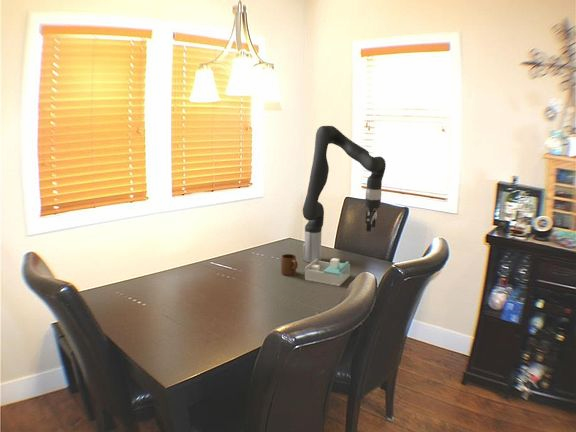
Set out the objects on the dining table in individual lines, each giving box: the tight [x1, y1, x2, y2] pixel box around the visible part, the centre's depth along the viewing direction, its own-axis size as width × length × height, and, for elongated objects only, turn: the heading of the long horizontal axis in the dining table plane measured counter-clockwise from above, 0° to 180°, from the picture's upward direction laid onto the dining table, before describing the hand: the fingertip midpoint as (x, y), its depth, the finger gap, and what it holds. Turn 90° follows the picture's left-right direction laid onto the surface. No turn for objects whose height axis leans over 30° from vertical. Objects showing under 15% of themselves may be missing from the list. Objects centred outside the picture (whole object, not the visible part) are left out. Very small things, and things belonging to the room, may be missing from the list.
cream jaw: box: [329, 257, 341, 269], centre depth 222 cm, size 4×4×4 cm
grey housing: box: [304, 259, 351, 287], centre depth 225 cm, size 18×15×6 cm
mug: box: [280, 253, 299, 277], centre depth 228 cm, size 12×8×9 cm, turn 30°
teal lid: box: [323, 261, 351, 275], centre depth 222 cm, size 8×15×3 cm, turn 154°
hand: (370, 229), depth 224 cm, fingers open, 8 cm apart
